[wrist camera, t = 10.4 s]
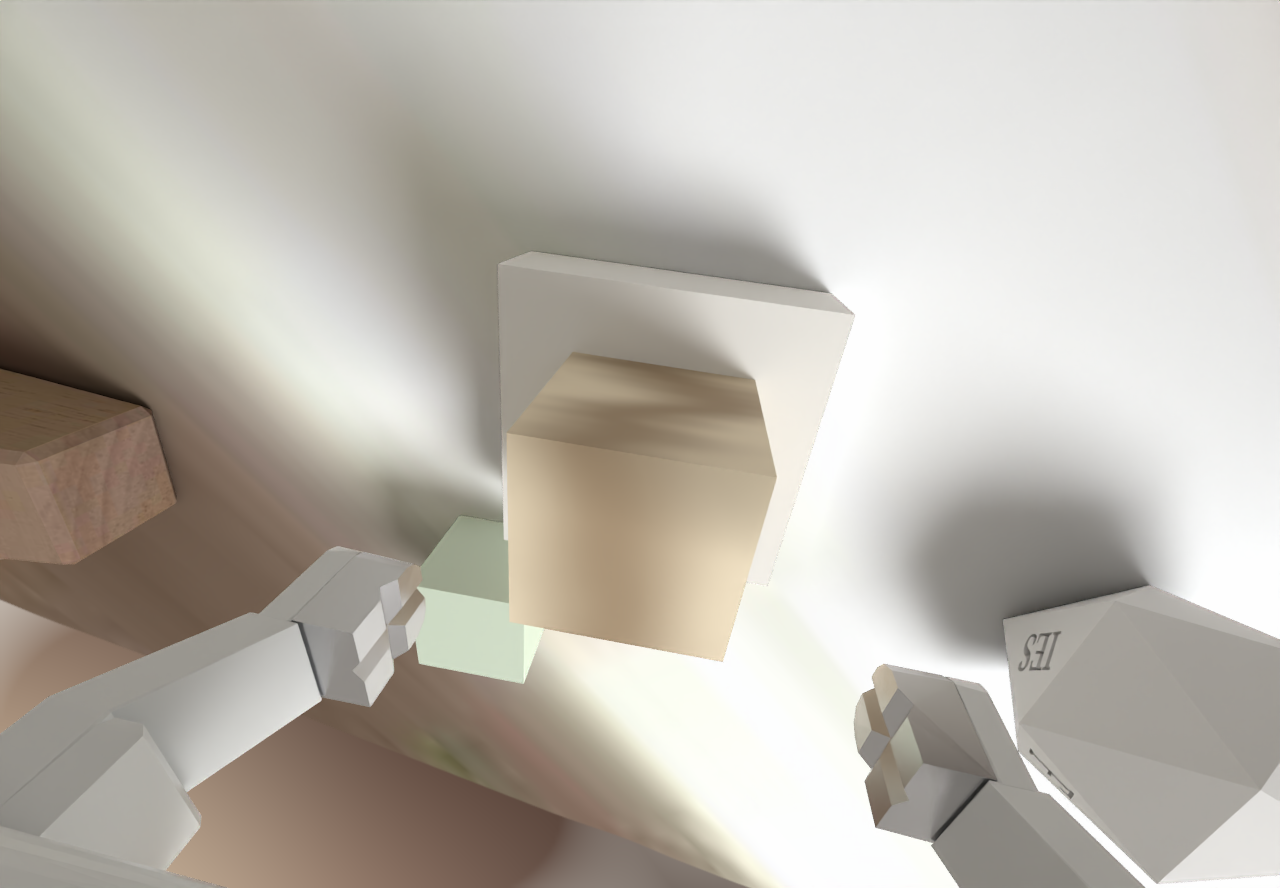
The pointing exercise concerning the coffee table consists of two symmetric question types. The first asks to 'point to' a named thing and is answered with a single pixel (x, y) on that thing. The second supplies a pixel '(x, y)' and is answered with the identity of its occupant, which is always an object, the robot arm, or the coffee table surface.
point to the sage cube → (473, 605)
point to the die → (1156, 728)
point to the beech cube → (637, 503)
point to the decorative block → (74, 470)
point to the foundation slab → (677, 349)
